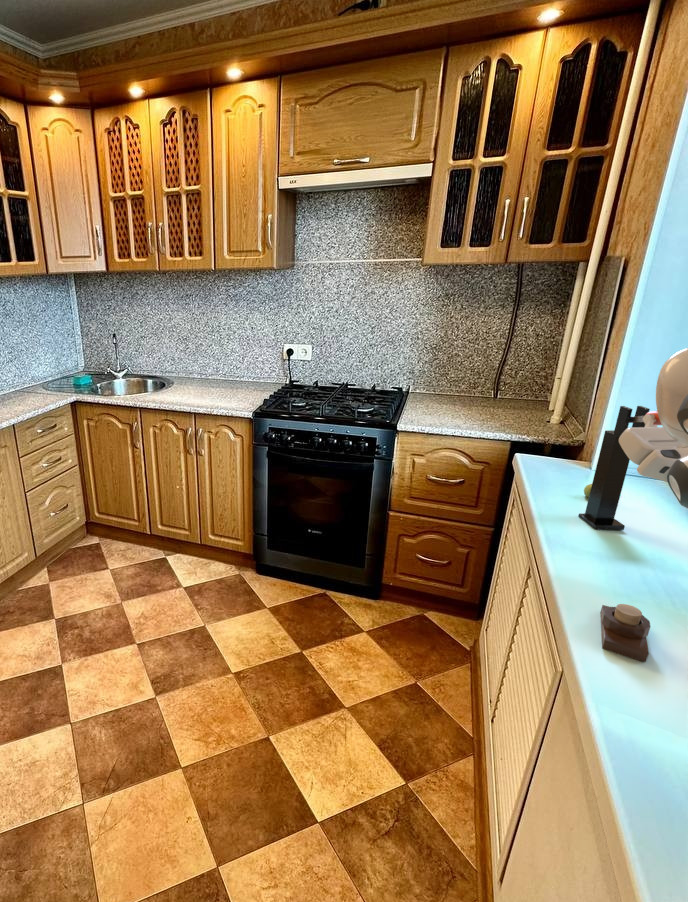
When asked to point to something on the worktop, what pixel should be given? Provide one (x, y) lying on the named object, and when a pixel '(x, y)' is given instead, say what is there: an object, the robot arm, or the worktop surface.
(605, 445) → the post
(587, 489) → the lime
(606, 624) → the control block
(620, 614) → the button
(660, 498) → the worktop surface
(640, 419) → the lever
